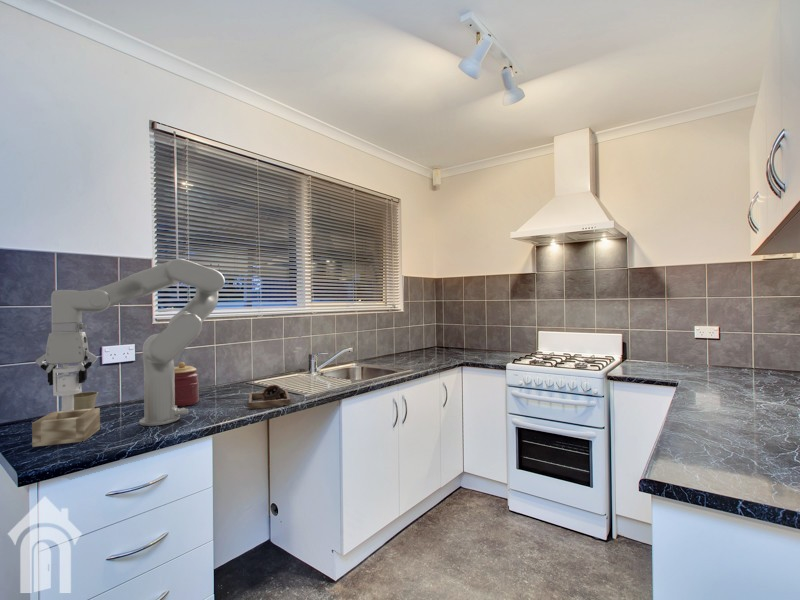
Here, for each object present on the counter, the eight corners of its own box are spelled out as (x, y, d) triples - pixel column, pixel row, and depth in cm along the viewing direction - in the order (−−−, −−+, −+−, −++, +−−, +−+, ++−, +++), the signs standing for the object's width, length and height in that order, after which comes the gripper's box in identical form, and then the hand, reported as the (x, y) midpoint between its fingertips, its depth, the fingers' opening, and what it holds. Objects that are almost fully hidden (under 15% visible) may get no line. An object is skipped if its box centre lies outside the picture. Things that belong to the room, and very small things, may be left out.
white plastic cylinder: (78, 406, 134) (78, 361, 134) (84, 410, 129) (84, 363, 129) (51, 411, 128) (50, 364, 128) (56, 415, 124) (55, 366, 124)
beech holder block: (99, 428, 137) (99, 407, 137) (84, 441, 125) (84, 418, 125) (53, 433, 133) (53, 411, 133) (32, 446, 121) (32, 422, 121)
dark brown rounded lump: (291, 402, 172) (285, 388, 168) (272, 415, 167) (265, 401, 163) (278, 391, 180) (272, 377, 176) (259, 403, 175) (253, 389, 171)
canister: (176, 408, 162) (175, 365, 162) (158, 405, 168) (157, 363, 168) (205, 401, 173) (205, 360, 173) (187, 398, 180) (187, 359, 180)
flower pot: (69, 422, 145) (69, 398, 145) (64, 417, 151) (64, 394, 151) (101, 416, 152) (100, 394, 152) (95, 412, 158) (95, 390, 158)
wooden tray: (287, 395, 182) (287, 390, 182) (290, 405, 165) (290, 399, 165) (249, 398, 177) (249, 393, 177) (248, 409, 160) (248, 402, 160)
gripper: (103, 326, 135) (104, 379, 135) (39, 328, 130) (40, 383, 130) (94, 328, 128) (95, 383, 128) (26, 330, 123) (27, 388, 122)
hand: (67, 383), depth 129 cm, fingers closed on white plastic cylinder, 7 cm apart
